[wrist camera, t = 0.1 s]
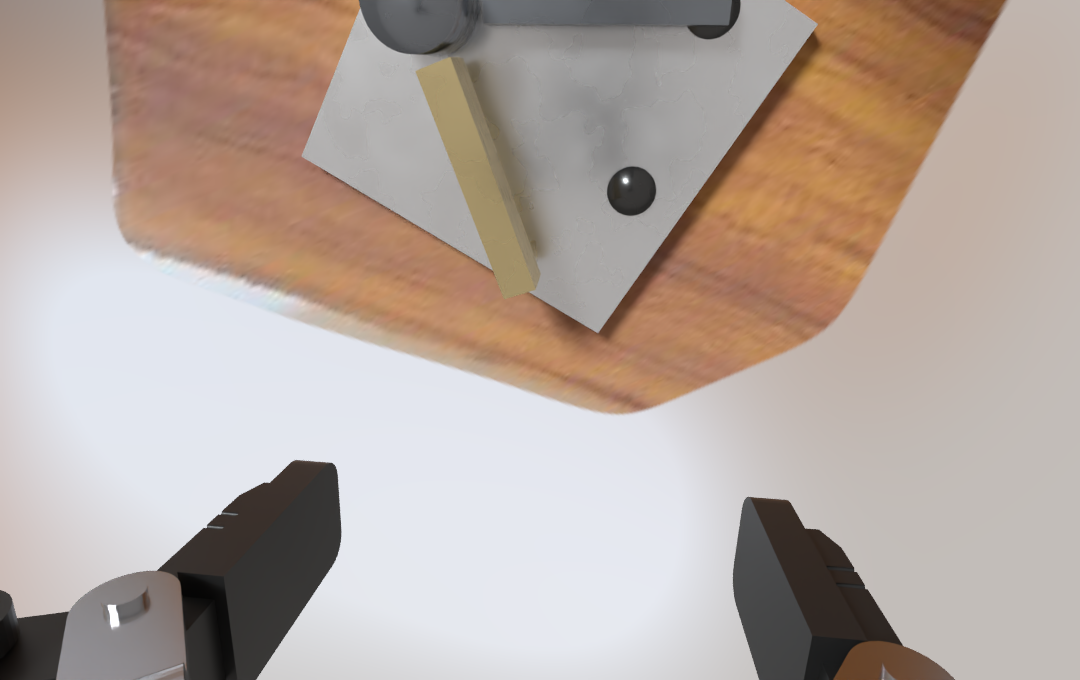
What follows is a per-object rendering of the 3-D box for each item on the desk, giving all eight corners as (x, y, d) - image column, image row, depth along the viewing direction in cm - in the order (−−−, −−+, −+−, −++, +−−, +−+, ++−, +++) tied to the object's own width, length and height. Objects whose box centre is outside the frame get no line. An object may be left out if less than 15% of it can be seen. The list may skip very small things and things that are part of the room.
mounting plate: (461, -224, 25) (428, -289, 20) (810, 25, 27) (851, 17, 23) (310, 153, 32) (260, 168, 27) (598, 326, 34) (596, 365, 30)
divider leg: (437, 70, 28) (414, 70, 25) (468, 58, 28) (450, 56, 25) (514, 275, 32) (504, 299, 29) (543, 267, 32) (535, 289, 28)
